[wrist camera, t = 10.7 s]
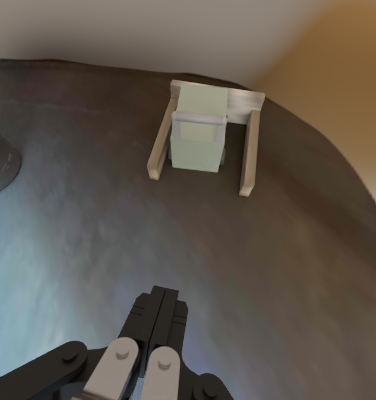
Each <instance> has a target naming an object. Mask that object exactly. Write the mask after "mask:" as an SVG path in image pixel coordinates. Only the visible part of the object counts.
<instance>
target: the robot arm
mask: <svg viewBox="0 0 376 400" xmlns="http://www.w3.org/2000/svg"><path fill="white" fill-rule="evenodd" d="M19 168H20V156H19V153H18V152H17V151H16V150H15V149H14V148H13V147H12V146H11V145H10V144H9V143H8V142H7V141H6V140H5V139H4V138H3V137H2V136H1V135H0V190H1V189H3V188H4V187H6V186H7V185H8V184H9V183H10V182H11V181H12V180H13V179H14V177H15V176H16V174H17V173H18V171H19ZM178 293H179V291H178V290H173V289H168V288H167V289H166V288H164V287H159V286H153V289H152V291H151V294H147V293H142V294H141V295H140V296H139V297H138V298H136V301H135V303H134V305H133V307H132V309H131V311H130V313H129V315H128V317H127V320H126V322H125V324H124V326H123V328H122V330H121V332H120V334H119V336H118V338H117V339H116V340H114V341H113V342H112V343H111V344H110V345H109V346H107V347H105V348H101V349H92V350H87V347H86V345H85V344H84V343H82V342H80V341H70V342H67V343H65V344H63V345H61V346H59V347H57V348H55V349H53V350H51V351H49V352H47V353H46V354H44V355H42V356H40V357H38V358H36V359H34V360H32V361H30V362H28V363H26V364H25V365H23V366H21V367H19V368H17V369H15V370H13V371H11V372H9V373H7V374H5V375H3V376H2V377H0V400H131V399H132V396H133V391H134V389H135V386H136V383H137V380H138V377H140V378H144V374H145V381H144V386H143V390H142V395H141V400H234V399H233V398H232V396H231V394H230V393H229V391H228V390H227V388H226V387H225V385H224V384H223V382H222V381H221V380H220V379H219V378H218V377H217V376H215V375H213V374H210V373H204V374H201V375H200V376H199V375H197V374H196V373H194V372H192V371H191V370H190V369H189V368H188V367H187V366H186V365H185V363H184V362H183V359H182V346H183V339H184V333H185V327H186V320H187V314H188V308H187V305H186V302H183V301H179V300H177V298H178ZM145 371H146V373H145Z"/></svg>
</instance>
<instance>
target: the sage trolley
mask: <svg viewBox="0 0 376 400" xmlns="http://www.w3.org/2000/svg"><path fill="white" fill-rule="evenodd" d="M227 96H228V88H219V87H209V86H199V85H189V84H182V85H181V90H180V95H179V100H178V104H177V109H176V111H174V112H173V113H172V115H171V117H172V133H171V137H170V140H171V142H170V144H169V150H168V158H169V159H171V160H172V167H175V168H184V169H192V170H201V171H210V172H218V169H219V165H223V164H224V159H225V151H226V148H224V143H225V130H226V125H227V117H228V115H226V111H227Z"/></svg>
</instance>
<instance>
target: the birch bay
mask: <svg viewBox="0 0 376 400" xmlns="http://www.w3.org/2000/svg"><path fill="white" fill-rule="evenodd" d="M182 84H189V85H199V86H209V87H219V86H212V85H205V84H198V83H192V82H185V81H178V80H172V82H171V99H170V102H169V105H168V107H167V110H166V113H165V116H164V119H163V122H162V124H161V127H160V130H159V133H158V136H157V138H156V141H155V144H154V147H153V150H152V153H151V155H150V158H149V161H148V164H147V168H148V172H149V176H150V179H155V180H159V177H160V174H161V171H162V168H163V164H164V161H165V158H166V155H167V152H168V148H169V144H170V142H171V140H170V137H171V133H172V117H171V115H172V113H173V112H174V111H176V109H177V104H178V100H179V95H180V90H181V85H182ZM219 88H225V87H219ZM264 99H265V93H259V92H252V91H245V90H239V89H232V88H228V96H227V111H226V115H228V117H227V122H232V123H238V124H244V125H247V128H246V137H245V146H244V155H243V164H242V173H241V182H240V190H239V195H242V196H247V197H248V196H249V194H250V192H251V190H252V188H253V187H254V184H255V171H256V158H257V145H258V132H259V119H260V110H261V107H262V104H263V102H264Z"/></svg>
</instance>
